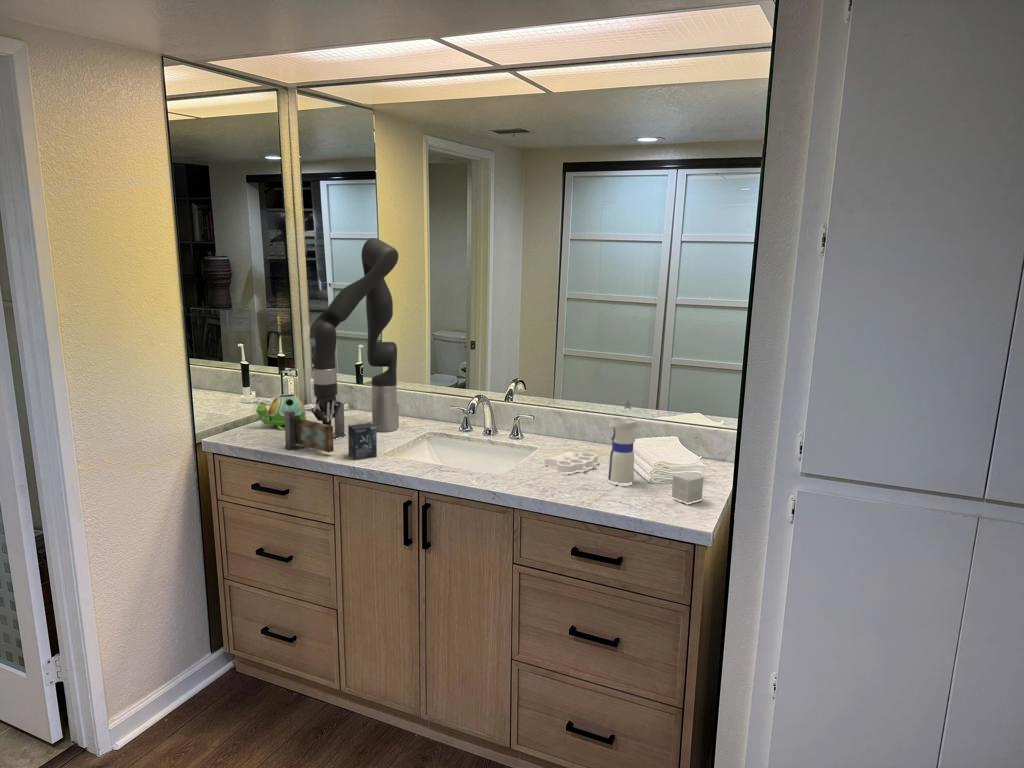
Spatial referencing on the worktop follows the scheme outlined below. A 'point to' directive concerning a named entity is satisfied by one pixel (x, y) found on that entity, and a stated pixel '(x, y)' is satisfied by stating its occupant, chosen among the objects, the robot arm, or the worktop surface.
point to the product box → (687, 487)
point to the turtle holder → (281, 410)
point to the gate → (314, 434)
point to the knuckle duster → (573, 461)
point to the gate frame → (291, 432)
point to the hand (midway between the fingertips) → (327, 431)
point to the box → (362, 441)
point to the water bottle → (622, 449)
